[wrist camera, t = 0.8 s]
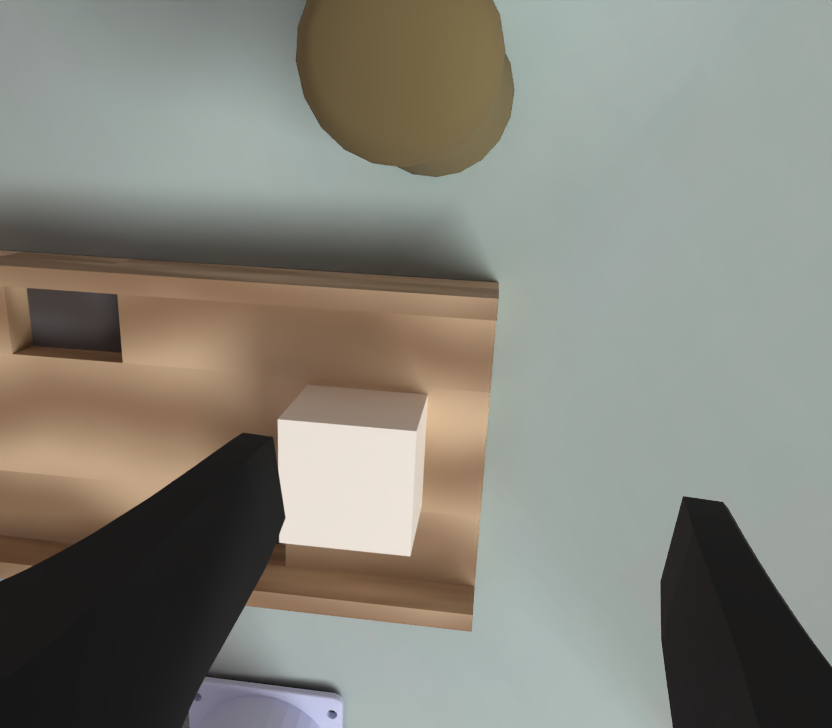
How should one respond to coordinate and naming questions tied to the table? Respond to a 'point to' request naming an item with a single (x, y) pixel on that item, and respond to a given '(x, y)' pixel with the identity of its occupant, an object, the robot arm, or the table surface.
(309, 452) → the block
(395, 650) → the table surface
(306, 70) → the cork
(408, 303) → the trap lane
